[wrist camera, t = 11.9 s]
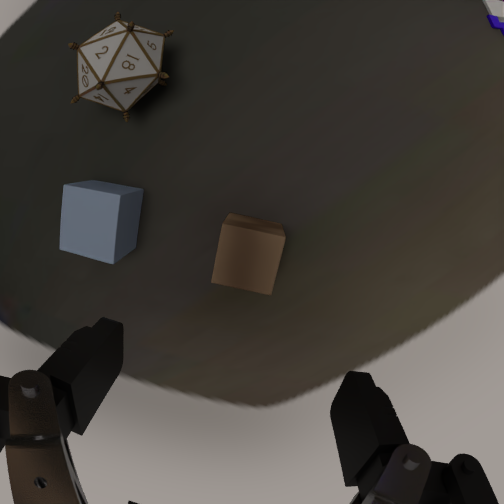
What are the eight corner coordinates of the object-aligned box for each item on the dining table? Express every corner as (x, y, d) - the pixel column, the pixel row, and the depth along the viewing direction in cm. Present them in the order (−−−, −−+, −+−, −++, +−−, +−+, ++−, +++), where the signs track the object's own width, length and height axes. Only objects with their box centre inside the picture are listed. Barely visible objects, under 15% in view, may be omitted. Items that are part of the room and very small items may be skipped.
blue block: (144, 189, 26) (120, 195, 21) (136, 247, 28) (113, 264, 23) (93, 179, 26) (63, 184, 21) (87, 235, 27) (59, 249, 23)
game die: (160, 99, 27) (133, 157, 21) (86, 74, 23) (36, 124, 17) (201, 23, 21) (181, 51, 15) (116, -6, 17) (61, 15, 11)
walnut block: (281, 223, 26) (285, 237, 22) (269, 272, 28) (270, 295, 23) (229, 212, 26) (222, 223, 22) (219, 261, 28) (211, 282, 23)
